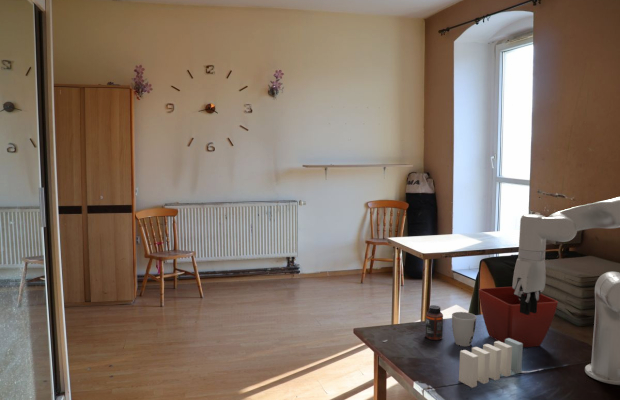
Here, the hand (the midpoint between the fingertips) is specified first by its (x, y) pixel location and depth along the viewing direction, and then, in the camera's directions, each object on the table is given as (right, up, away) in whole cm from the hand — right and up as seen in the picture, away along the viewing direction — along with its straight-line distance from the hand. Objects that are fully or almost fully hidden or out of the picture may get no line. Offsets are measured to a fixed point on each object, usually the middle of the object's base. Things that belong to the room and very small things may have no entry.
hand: (528, 312), depth 158 cm
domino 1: (-22, -18, -11) cm, 30 cm away
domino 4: (-10, -18, -3) cm, 20 cm away
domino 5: (-5, -17, -1) cm, 18 cm away
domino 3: (-14, -18, -6) cm, 23 cm away
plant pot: (+4, -15, +22) cm, 27 cm away
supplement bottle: (-23, -14, +24) cm, 37 cm away
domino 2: (-18, -18, -8) cm, 27 cm away
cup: (-15, -15, +19) cm, 28 cm away
